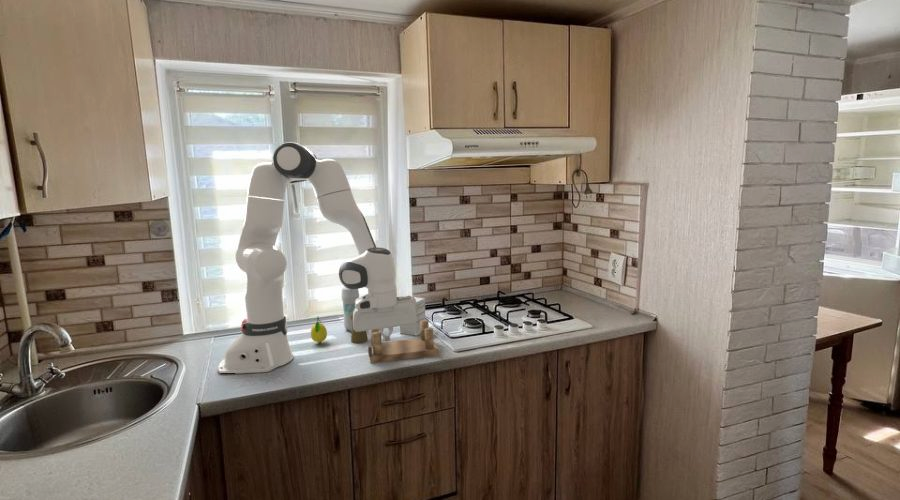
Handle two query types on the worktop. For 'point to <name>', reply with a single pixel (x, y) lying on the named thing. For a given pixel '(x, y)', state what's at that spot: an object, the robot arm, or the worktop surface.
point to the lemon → (318, 332)
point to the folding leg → (377, 343)
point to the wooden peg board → (406, 346)
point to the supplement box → (420, 313)
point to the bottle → (349, 305)
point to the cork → (358, 334)
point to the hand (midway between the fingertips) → (386, 340)
